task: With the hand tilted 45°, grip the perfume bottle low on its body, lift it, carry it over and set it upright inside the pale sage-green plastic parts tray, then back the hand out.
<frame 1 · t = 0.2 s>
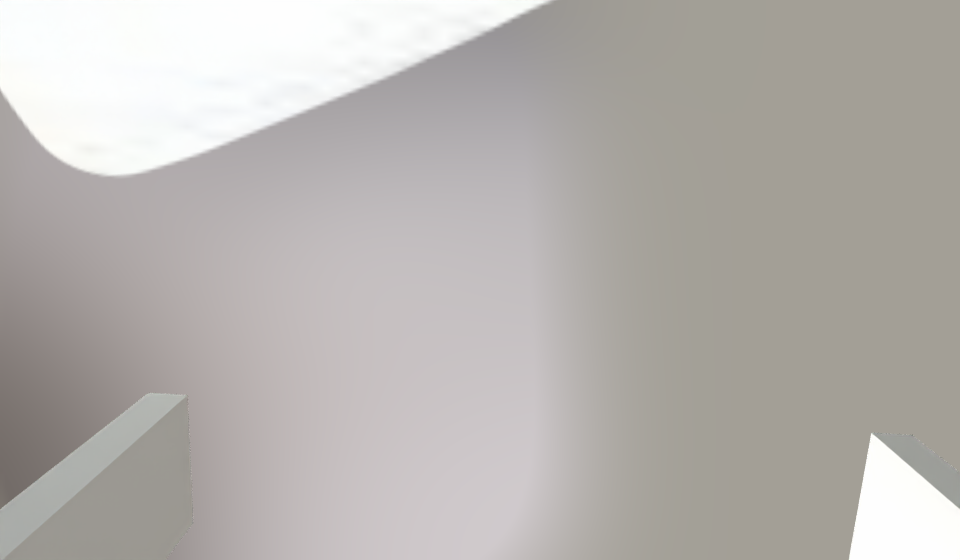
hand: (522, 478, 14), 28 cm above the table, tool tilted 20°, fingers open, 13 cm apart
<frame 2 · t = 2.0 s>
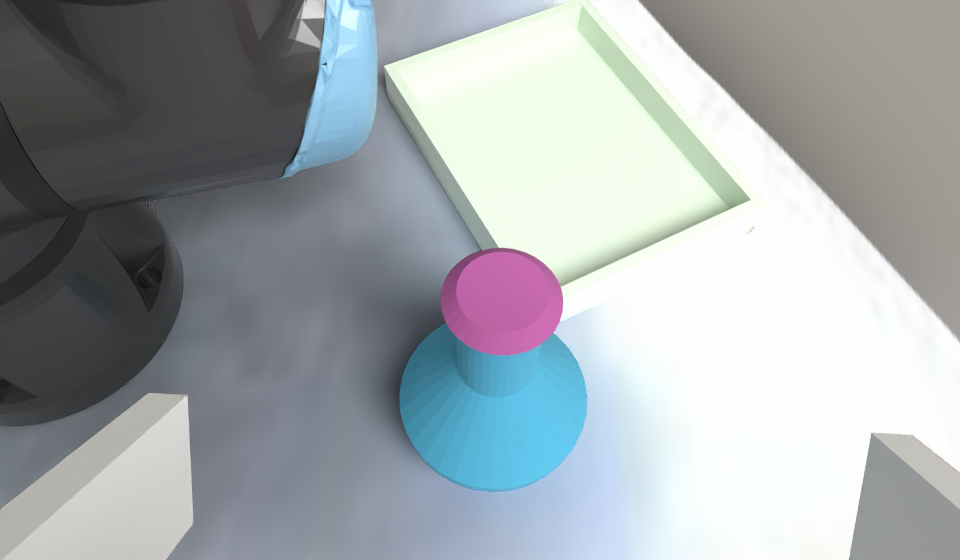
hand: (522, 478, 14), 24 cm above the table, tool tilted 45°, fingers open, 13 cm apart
parts tray: (559, 161, 49), on the table
perfume bottle: (490, 427, 40), on the table
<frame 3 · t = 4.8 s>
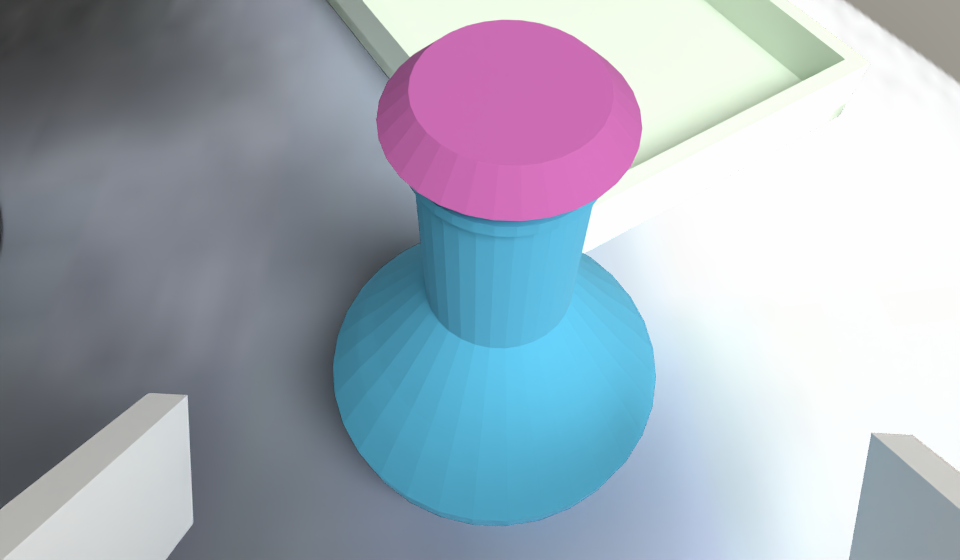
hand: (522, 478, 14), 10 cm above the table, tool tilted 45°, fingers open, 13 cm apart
parts tray: (557, 43, 35), on the table
perfume bottle: (490, 419, 25), on the table
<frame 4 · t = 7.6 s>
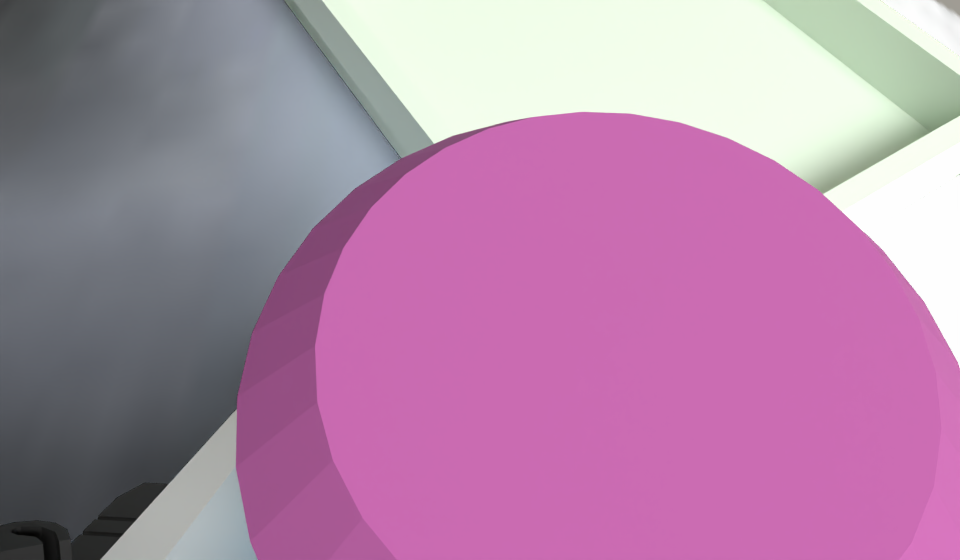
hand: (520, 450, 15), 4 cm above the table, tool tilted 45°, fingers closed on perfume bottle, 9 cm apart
parts tray: (590, 69, 27), on the table
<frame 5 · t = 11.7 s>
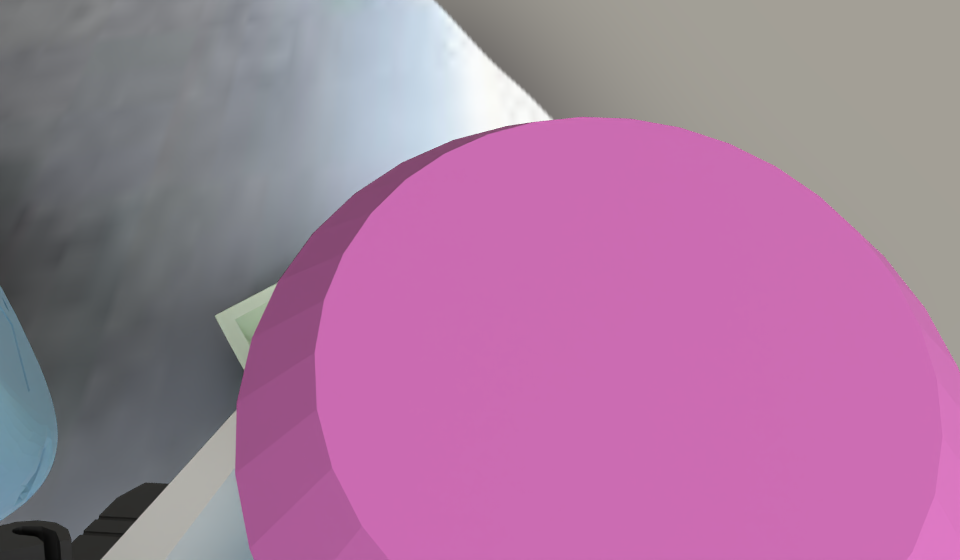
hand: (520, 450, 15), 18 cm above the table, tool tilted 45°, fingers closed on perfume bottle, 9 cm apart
parts tray: (486, 428, 34), on the table
when the fingers open (6 cm above the table, at t = 16.0 s): perfume bottle drops 1 cm, resting on parts tray.
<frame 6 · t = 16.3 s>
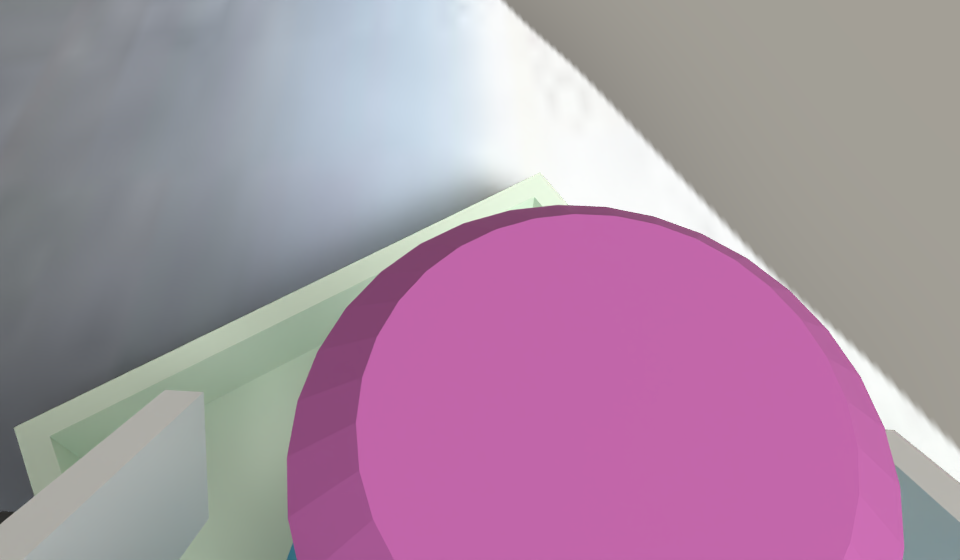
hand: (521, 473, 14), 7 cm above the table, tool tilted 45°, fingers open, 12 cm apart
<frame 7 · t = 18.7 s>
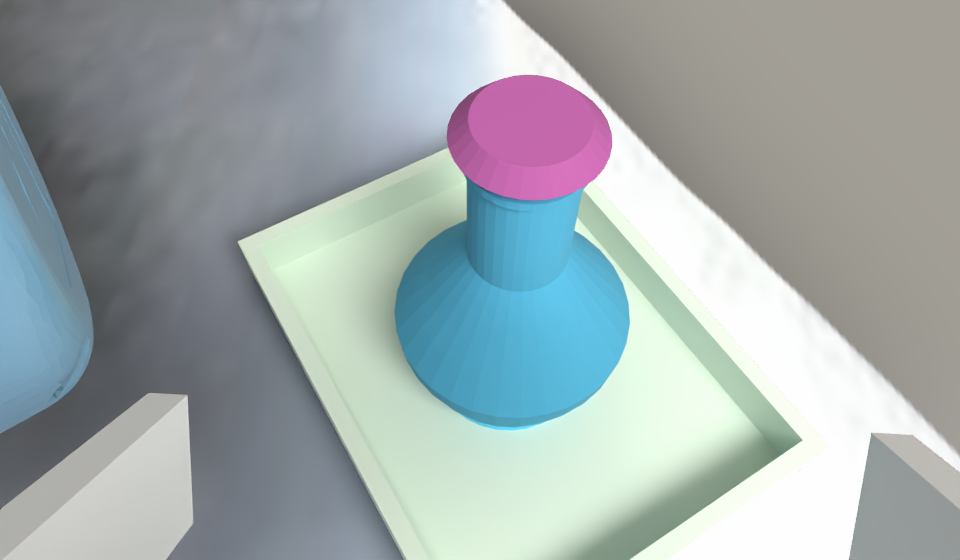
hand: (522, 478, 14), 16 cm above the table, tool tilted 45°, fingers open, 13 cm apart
parts tray: (506, 366, 33), on the table
perfume bottle: (506, 361, 33), point 1 cm above the table, touching parts tray
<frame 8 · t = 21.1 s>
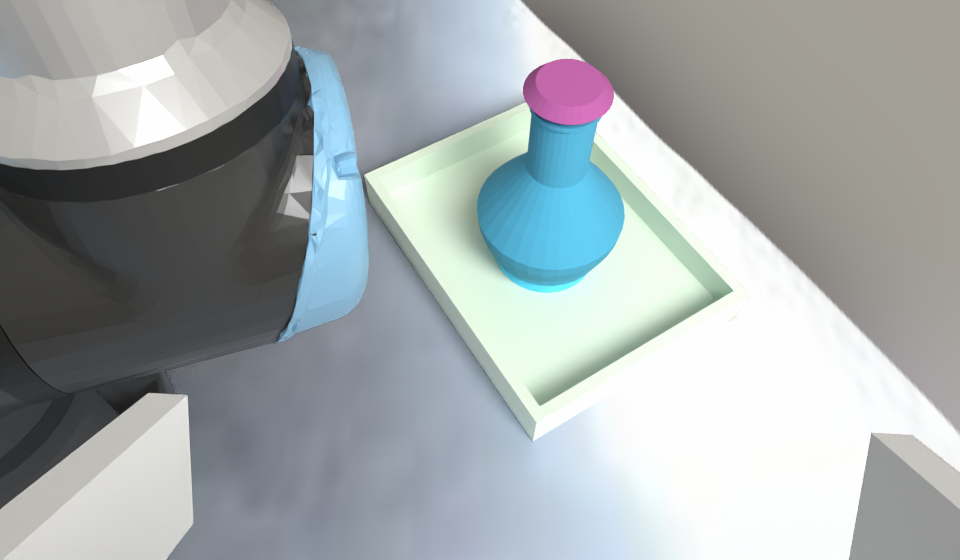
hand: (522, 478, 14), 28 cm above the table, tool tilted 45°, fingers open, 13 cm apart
parts tray: (543, 257, 50), on the table
perfume bottle: (543, 252, 50), point 1 cm above the table, touching parts tray
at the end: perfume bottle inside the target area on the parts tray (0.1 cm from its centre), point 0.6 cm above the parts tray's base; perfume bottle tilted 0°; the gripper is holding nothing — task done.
